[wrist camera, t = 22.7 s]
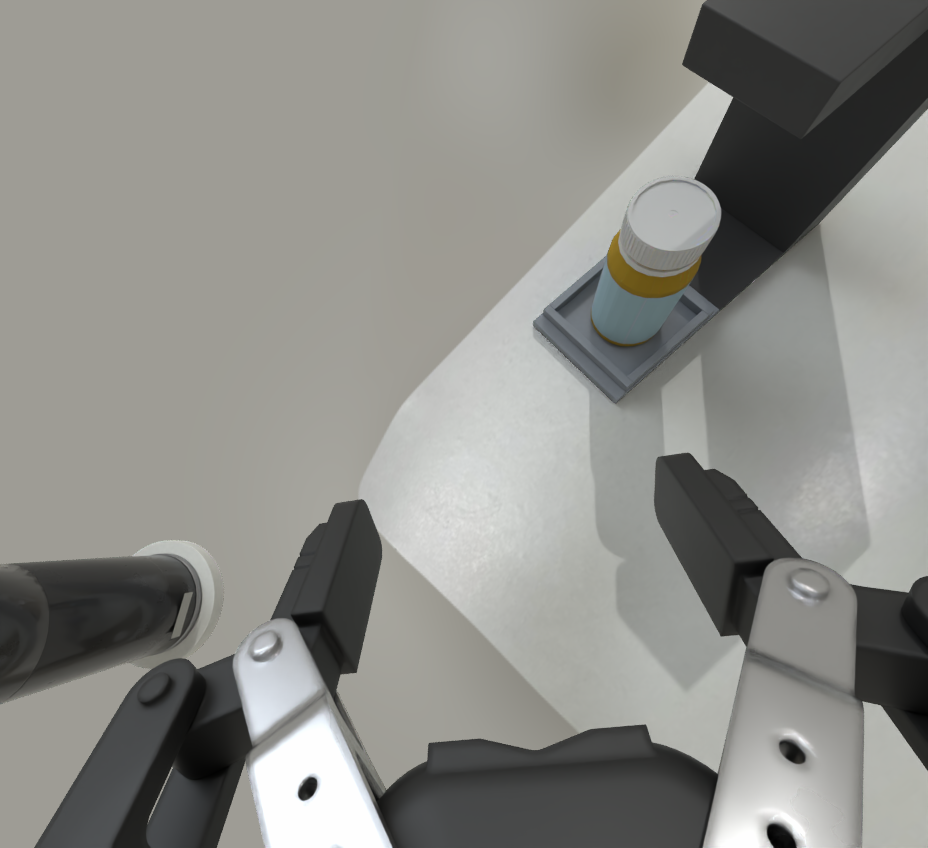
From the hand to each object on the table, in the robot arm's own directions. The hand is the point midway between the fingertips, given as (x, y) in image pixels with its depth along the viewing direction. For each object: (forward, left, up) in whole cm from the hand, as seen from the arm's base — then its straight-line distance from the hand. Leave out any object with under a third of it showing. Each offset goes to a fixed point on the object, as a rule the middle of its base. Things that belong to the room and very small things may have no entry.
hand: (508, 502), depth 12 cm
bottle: (+7, +23, -30) cm, 38 cm away
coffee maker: (+11, +29, -31) cm, 43 cm away
